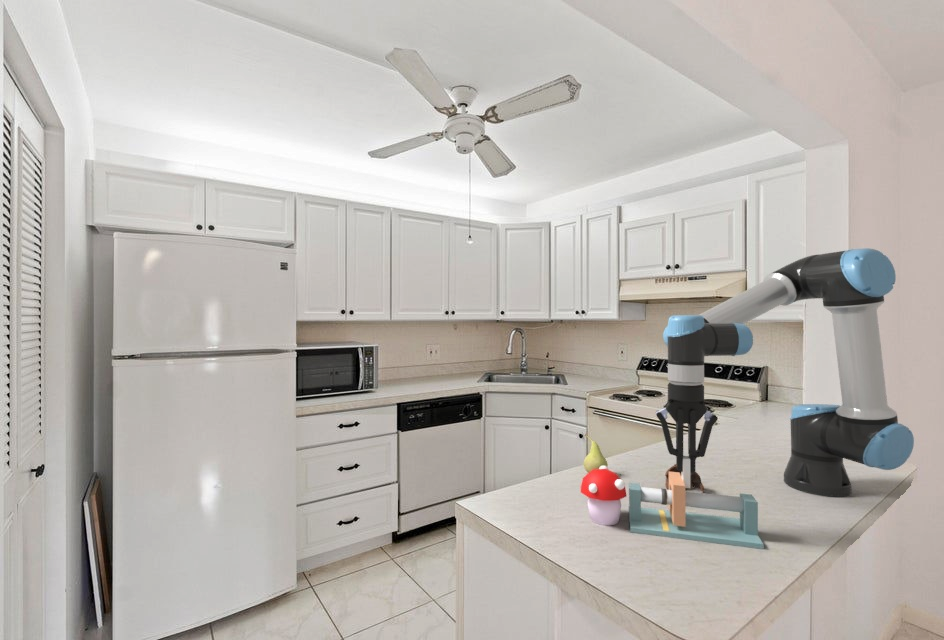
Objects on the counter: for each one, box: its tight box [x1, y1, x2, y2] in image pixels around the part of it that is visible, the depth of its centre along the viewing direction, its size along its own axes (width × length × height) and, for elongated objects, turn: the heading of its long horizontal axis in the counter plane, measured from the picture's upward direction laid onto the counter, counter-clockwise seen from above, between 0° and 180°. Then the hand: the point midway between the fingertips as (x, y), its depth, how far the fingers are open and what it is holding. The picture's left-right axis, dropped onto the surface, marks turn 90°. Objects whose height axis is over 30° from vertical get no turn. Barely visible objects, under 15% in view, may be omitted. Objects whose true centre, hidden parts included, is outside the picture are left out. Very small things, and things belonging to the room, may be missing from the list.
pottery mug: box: [664, 463, 706, 493], centre depth 125 cm, size 12×10×8 cm
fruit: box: [583, 433, 609, 474], centre depth 137 cm, size 7×8×12 cm
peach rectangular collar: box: [668, 472, 686, 527], centre depth 104 cm, size 2×9×9 cm, turn 163°
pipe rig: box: [628, 482, 764, 550], centre depth 103 cm, size 26×12×8 cm, turn 73°
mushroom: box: [580, 466, 627, 527], centre depth 108 cm, size 11×11×12 cm
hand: (685, 485), depth 103 cm, fingers closed
